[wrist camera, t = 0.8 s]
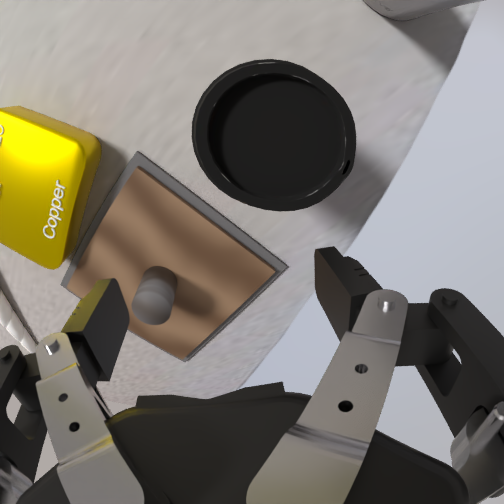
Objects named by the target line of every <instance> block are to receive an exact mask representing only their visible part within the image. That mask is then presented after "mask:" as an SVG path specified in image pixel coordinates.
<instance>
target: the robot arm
mask: <svg viewBox="0 0 504 504" xmlns="http://www.w3.org/2000/svg"><path fill="white" fill-rule="evenodd" d="M479 1H484V0H364V2H365V3H366V4H368V5H369V6H370V7H371V8H372V9H374V10H375V11H377V12H378V13H380V14H381V15H384V16H386V17H388V18H391V19H394V20H401V21H405V20H411V19H414V18H417V17H420V16H423V15H427V14H430V13H434V12H437V11H441V10H445V9H448V8H452V7H456V6H461V5H465V4H469V3H474V2H479ZM314 260H315V290H316V294H317V298H318V300H319V302H320V304H321V306H322V308H323V310H324V311H325V313H326V315H327V317H328V319H329V321H330V323H331V325H332V327H333V329H334V331H335V333H336V335H337V337H338V339H339V341H340V344H339V346H338V348H337V350H336V352H335V354H334V356H333V358H332V360H331V362H330V364H329V366H328V368H327V370H326V372H325V374H324V375H323V377H322V379H321V381H320V383H319V385H318V387H317V388H316V390H315V392H314V394H313V395H312V396H310V395H306V394H302V393H294V392H285V391H284V386H283V382H277V383H271V384H265V385H259V386H252V387H245V388H242V389H239V390H236V391H233V392H230V393H227V394H224V395H221V396H218V397H214V398H211V399H198V398H190V397H183V396H176V395H150V396H138V398H137V402H136V406H135V407H132V408H128V409H125V410H123V411H121V412H119V413H117V414H115V415H113V414H112V412H111V411H110V409H109V408H108V406H107V404H106V402H105V400H104V398H103V396H102V395H101V393H100V391H99V389H98V388H97V386H96V384H97V381H110V378H111V375H112V372H113V369H114V366H115V363H116V360H117V357H118V354H119V351H120V348H121V346H122V343H123V340H124V337H125V334H126V332H127V329H128V326H129V322H130V316H129V311H128V308H127V305H126V303H125V300H124V297H123V294H122V292H121V289H120V286H119V283H118V281H117V280H116V279H115V278H110V279H103V280H98V281H97V282H96V284H95V285H94V287H93V288H92V290H91V291H90V293H88V294H87V295H86V296H85V297H84V298H82V299H81V300H80V302H79V303H78V305H77V306H76V309H75V310H74V311H73V313H72V315H71V316H70V318H69V319H68V321H67V322H66V324H65V326H64V327H63V329H62V331H61V332H58V333H53V334H50V335H48V336H47V337H45V338H44V339H42V340H41V341H40V342H39V344H38V345H37V347H36V352H35V353H31V354H28V355H23V354H22V352H21V351H20V349H19V347H18V346H16V345H10V346H7V347H5V348H3V349H1V350H0V504H479V503H480V502H482V501H484V500H485V499H487V498H488V497H489V498H493V497H498V496H500V495H502V494H503V493H504V337H503V336H502V335H501V333H500V332H499V331H498V330H497V329H496V328H495V327H494V326H493V325H492V324H491V323H490V322H489V320H488V319H487V318H486V317H485V316H484V315H483V314H482V313H481V312H480V311H479V310H478V309H477V308H476V307H475V306H474V305H473V304H472V303H471V302H470V301H469V300H468V299H467V298H466V297H465V296H464V295H463V294H461V293H460V292H458V291H455V290H452V289H446V288H444V289H438V290H435V291H434V292H433V293H432V294H431V296H430V301H429V303H408V301H407V299H406V297H404V295H402V294H401V293H399V292H397V291H393V290H387V289H383V288H382V287H381V286H380V285H379V284H378V283H377V282H376V280H375V279H374V278H373V277H372V276H371V275H369V273H368V272H367V270H365V269H364V267H363V266H362V265H361V264H360V263H359V262H358V261H357V260H355V259H353V258H351V257H349V256H347V257H343V256H342V255H341V254H340V252H339V251H338V250H337V249H336V248H335V247H334V246H333V247H326V248H320V249H316V250H315V254H314ZM453 349H455V351H456V352H457V353H458V355H459V356H460V359H461V363H462V365H461V364H460V362H459V361H458V359H457V358H456V357H455V355H454V354H453V352H452V351H453ZM414 365H415V367H416V368H417V370H418V372H419V373H420V375H421V377H422V379H423V380H424V382H425V383H426V385H427V387H428V389H429V391H430V393H431V394H432V396H433V398H434V400H435V401H436V403H437V405H438V407H439V409H440V411H441V413H442V414H443V416H444V418H445V420H446V422H447V424H448V426H449V427H450V430H451V432H452V434H453V436H454V438H455V439H454V440H453V442H452V445H451V450H450V452H451V458H452V466H453V468H452V467H451V466H449V465H447V464H446V463H444V462H442V461H439V460H437V459H435V458H433V457H431V456H428V455H426V454H424V453H422V452H420V451H418V450H416V449H413V448H411V447H409V446H407V445H405V444H403V443H401V442H399V441H397V440H395V439H393V438H391V437H389V436H387V435H385V434H383V433H382V432H380V431H378V430H376V429H375V428H376V426H377V423H378V420H379V417H380V414H381V411H382V408H383V405H384V402H385V399H386V395H387V392H388V389H389V386H390V382H391V378H392V375H393V371H394V368H395V366H414ZM12 393H13V394H14V395H15V396H16V398H17V399H18V400H19V401H20V403H21V404H22V405H21V407H20V410H19V412H18V415H17V417H16V420H15V422H14V424H13V423H12V422H11V421H10V420H9V418H8V416H7V413H6V407H7V404H8V402H9V399H10V397H11V395H12ZM47 430H48V433H49V435H50V439H51V442H52V445H53V448H54V451H55V453H56V456H57V459H58V463H57V464H56V465H55V466H54V467H53V468H52V469H51V470H49V471H48V472H47V473H46V474H45V475H43V476H42V477H41V478H40V479H39V480H38V481H36V482H35V483H34V479H35V475H36V471H37V467H38V463H39V459H40V455H41V451H42V447H43V444H44V440H45V437H46V434H47Z"/></svg>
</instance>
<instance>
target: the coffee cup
mask: <svg viewBox="0 0 504 504" xmlns="http://www.w3.org/2000/svg"><path fill="white" fill-rule="evenodd" d="M192 142H193V147H194V152H195V155H196V157H197V160H198V162H199V165H200V167H201V168H202V170H203V171H204V173H205V174H206V176H207V177H208V179H209V180H210V181H211V182H212V183H213V184H214V185H215V186H216V187H217V188H218V189H220V190H221V191H222V192H224V193H225V194H227V195H228V196H230V197H231V198H233V199H236V200H238V201H240V202H242V203H244V204H248V205H250V206H253V207H257V208H261V209H264V210H272V211H295V210H299V209H304V208H308V207H310V206H312V205H314V204H317V203H319V202H320V201H322V200H323V199H325V198H326V197H328V196H329V195H330V194H331V193H332V192H333V191H335V190H336V189H337V188H338V187H339V185H340V184H341V183H342V182H343V181H344V180H345V179H346V178H347V176H348V175H349V174H350V172H351V170H352V168H353V164H354V159H355V151H356V130H355V123H354V120H353V117H352V114H351V111H350V109H349V107H348V106H347V104H346V102H345V101H344V99H343V98H342V97H341V95H340V94H339V93H338V92H337V91H336V90H335V89H334V88H333V87H332V86H331V85H330V84H329V83H327V82H326V81H325V80H324V79H322V78H321V77H319V76H318V75H317V74H315V73H313V72H312V71H310V70H308V69H306V68H305V67H303V66H300V65H297V64H294V63H291V62H288V61H282V60H274V59H265V60H254V61H250V62H246V63H243V64H239V65H237V66H235V67H233V68H231V69H229V70H227V71H226V72H224V73H223V74H222V75H220V76H219V77H218V78H217V79H215V80H214V81H213V82H212V83H211V84H210V86H209V87H208V88H207V89H206V91H205V92H204V93H203V95H202V96H201V98H200V100H199V102H198V104H197V106H196V109H195V113H194V117H193V121H192Z"/></svg>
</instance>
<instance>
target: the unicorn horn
mask: <svg viewBox="0 0 504 504" xmlns="http://www.w3.org/2000/svg"><path fill="white" fill-rule="evenodd" d="M0 323H1V324H2V325H3V327H6V328H7V331H8V332H9V333H10V334H11V335H12V336H13V337H14V338H15V339H16V340H17V341H18V342H19V341H20V342H21V345H22V346H23V347H25V348H26V349H27V350H28V351H29V352H30V353H35V352H36V347H37V344H36V343H35V342H34V340H33V339H32V337H31V336H30V334H29V333H28V331H27V330H26V328H25V327H24V326H23V324H22V322H21V321H20V319H19V318H18V316H17V315H16V313H15V312H14V310H13V309H12V307H11V305H10V304H9V302H8V300H7V299H6V297H5V295H4V294H3V292H2V290H1V289H0Z"/></svg>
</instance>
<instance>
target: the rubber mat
mask: <svg viewBox="0 0 504 504" xmlns="http://www.w3.org/2000/svg"><path fill="white" fill-rule="evenodd" d="M137 166H140V167H141V168H143V169H144V170H145V171H147V172H148V173H149V174H150V175H152V176H153V177H154V178H156V179H157V180H158V181H160V182H161V183H162V184H164V185H165V186H166V187H168V188H169V189H170V190H172V191H173V192H174V193H176V194H177V195H178V196H180V197H181V198H182V199H184V200H185V201H186V202H188V203H189V204H190V205H192V206H193V207H194V208H196V209H197V210H198V211H200V212H201V213H202V214H204V215H205V216H206V217H207V218H209V219H210V220H211V221H213V222H214V223H215V224H217V225H218V226H219V227H221V228H222V229H223V230H225V231H226V232H227V233H229V234H230V235H231V236H233V237H234V238H235V239H237V240H238V241H239V242H241V243H242V244H243V245H245V246H246V247H247V248H249V249H250V250H251V251H253V252H254V253H255V254H257V255H258V256H259V257H260V258H262V259H263V260H264V261H266V262H267V263H268V264H270V265H271V266H272V267H274V268H275V273H274V274H273V275H272V276H271V277H270V278H269V279H268V280H267V281H266V282H265V283H263V284H262V285H261V286H260V287H259V288H258V289H257V290H256V291H255V292H254V293H253V294H252V295H251V296H250V297H249V298H248V299H247V300H246V301H245V302H244V303H243V304H242V305H241V306H240V307H239V308H237V309H236V310H235V311H234V312H233V313H232V314H231V315H230V316H229V317H228V318H227V319H226V320H225V321H224V322H223V323H222V324H221V325H219V326H218V327H217V328H216V329H215V330H214V331H213V332H212V333H211V334H210V335H209V336H208V337H207V338H206V339H205V340H203V341H202V342H201V343H200V344H199V345H198V346H197V347H196V348H195V349H194V350H193V351H192V352H190V353H189V354H188V355H187V356H186V357H185V358H184V359H183V360H182V359H180V358H178V357H176V356H174V355H172V354H170V353H169V352H167V351H165V350H163V349H161V348H160V347H158V346H156V345H154V344H152V343H151V342H149V341H147V340H146V339H144V338H142V337H140V336H139V335H137V334H135V333H134V332H132V331H130V330H129V329H127V330H128V331H130V332H132V333H133V334H135V335H137V336H138V337H140V338H142V339H144V340H145V341H147V342H149V343H150V344H152V345H154V346H156V347H157V348H159V349H161V350H163V351H165V352H167V353H168V354H170V355H172V356H174V357H176V358H178V359H180V360H181V361H183V362H186V361H187V360H188V359H189V358H190V357H192V356H193V355H194V354H195V353H196V352H197V351H198V350H199V349H200V348H202V347H203V346H204V345H205V344H206V343H207V342H208V341H209V340H210V339H211V338H212V337H214V336H215V335H216V334H217V333H218V332H219V331H220V330H221V329H222V328H223V327H224V326H225V325H227V324H228V323H229V322H230V321H231V320H232V319H233V318H234V317H235V316H236V315H237V314H238V313H239V312H240V311H242V310H243V309H244V308H245V307H246V306H247V305H248V304H249V303H250V302H251V301H252V300H253V299H254V298H255V297H256V296H257V295H258V294H259V293H261V292H262V291H263V290H264V289H265V288H266V287H267V286H268V285H269V284H270V283H271V282H272V281H273V280H274V279H275V278H276V277H277V276H278V275H279V274H280V273H281V272H282V271H283V270H284V269H285V268H286V267H287V265H286V264H284V263H283V262H282V261H281V260H279V259H278V258H277V257H275V256H274V255H273V254H272V253H270V252H269V251H268V250H266V249H265V248H264V247H263V246H261V245H260V244H259V243H257V242H256V241H255V240H254V239H252V238H251V237H250V236H248V235H247V234H246V233H245V232H243V231H242V230H241V229H239V228H238V227H237V226H235V225H234V224H233V223H232V222H230V221H229V220H228V219H226V218H225V217H224V216H222V215H221V214H220V213H219V212H217V211H216V210H215V209H213V208H212V207H211V206H209V205H208V204H207V203H206V202H204V201H203V200H202V199H200V198H199V197H198V196H196V195H195V194H194V193H192V192H191V191H190V190H189V189H187V188H186V187H185V186H183V185H182V184H181V183H179V182H178V181H177V180H175V179H174V178H173V177H171V176H170V175H169V174H167V173H166V172H165V171H164V170H162V169H161V168H160V167H158V166H157V165H156V164H154V163H153V162H152V161H150V160H149V159H148V158H146V157H145V156H144V155H142V154H141V153H140V152H138V151H137V152H136V153H135V155H134V156H133V158H132V159H131V161H130V162H129V163H128V165H127V166H126V168H125V169H124V171H123V172H122V174H121V176H120V177H119V179H118V180H117V182H116V183H115V185H114V186H113V188H112V190H111V191H110V193H109V194H108V196H107V198H106V199H105V201H104V203H103V204H102V206H101V208H100V209H99V211H98V213H97V215H96V216H95V218H94V220H93V222H92V223H91V225H90V227H89V229H88V231H87V232H86V234H85V236H84V238H83V240H82V242H81V244H80V246H79V248H78V250H77V251H76V253H75V255H74V257H73V259H72V261H71V264H70V266H69V268H68V270H67V272H66V274H65V276H64V278H63V280H62V283H61V285H62V286H63V287H64V288H66V289H67V285H68V283H69V281H70V279H71V277H72V275H73V273H74V271H75V269H76V267H77V265H78V263H79V261H80V259H81V258H82V256H83V254H84V252H85V250H86V248H87V246H88V245H89V243H90V241H91V239H92V237H93V236H94V234H95V232H96V230H97V229H98V227H99V225H100V223H101V222H102V220H103V218H104V217H105V215H106V213H107V212H108V210H109V208H110V207H111V205H112V204H113V202H114V200H115V199H116V197H117V196H118V194H119V193H120V191H121V189H122V188H123V186H124V185H125V183H126V182H127V180H128V179H129V177H130V176H131V174H132V173H133V171H134V170H135V169H136V167H137ZM67 290H68V291H70V290H69V289H67ZM70 292H71V293H72V294H74V293H73V292H72V291H70ZM74 295H75V296H77V295H76V294H74ZM77 297H78V298H80V297H79V296H77ZM80 299H81V298H80Z"/></svg>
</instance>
